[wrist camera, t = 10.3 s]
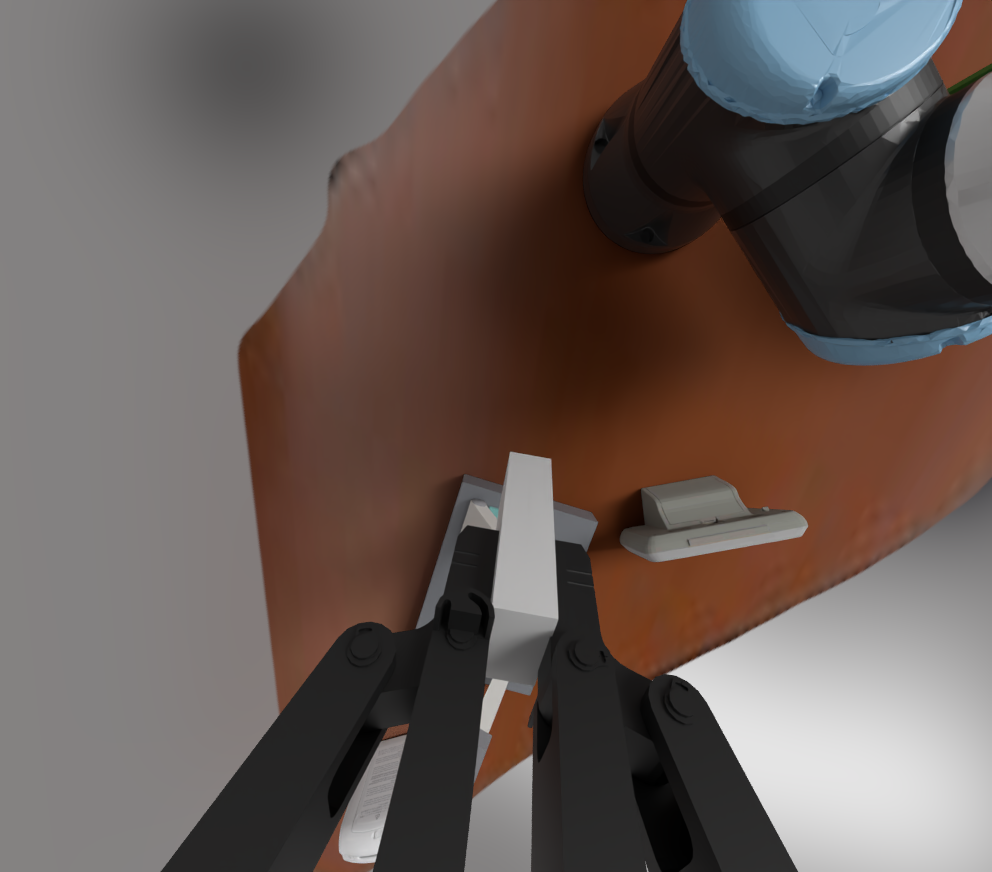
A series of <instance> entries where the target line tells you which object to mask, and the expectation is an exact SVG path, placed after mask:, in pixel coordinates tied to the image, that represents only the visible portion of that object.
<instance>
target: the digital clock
mask: <svg viewBox="0 0 992 872" xmlns="http://www.w3.org/2000/svg"><path fill="white" fill-rule="evenodd" d="M641 495H642V503H643V512H644V520H645V525H642V526H637V527H632V528H626V529H624V530H623V531H622V533H621V535H620V543H621V544H622V545H623V546H624V547H625V548H626V549H627V550H628V551H630V552H632V553H634V554H636V555H638V556H641V557H643V558H645V559H647V560H649V561H652V562H661V561H667V560H673V559H679V558H684V557H690V556H696V555H701V554H707V553H713V552H718V551H724V550H729V549H735V548H741V547H746V546H752V545H758V544H763V543H769V542H774V541H780V540H785V539H791V538H796V537H800V536H802V535H803V533H804V532H805V530H806V529H807V527H808V524H807V521H806V520H805V519H804V517H802V516H801V515H800V514H798V513H797V512H795V511H793V510H777V509H769V508H768V507H762V509H757V508H746V507H745V505H744V504H743V502H742V501H741V499H740V498H739V495H738V493H737V490H736V489H735V487H734V486H732V485H731V484H729V483H727V482H725V481H724V480H722V479H720V478H718V477H716V476H714V475H713V476H708V477H702V478H697V479H691V480H686V481H680V482H675V483H669V484H664V485H658V486H653V487H647V488H642V489H641ZM686 527H687V528H688V529H687V528H686ZM689 527H690V528H689ZM680 528H681V529H680ZM684 528H685V529H684ZM675 529H676V530H677V531H676V530H675ZM678 529H679V530H678ZM682 529H683V530H682ZM669 530H670V531H672V530H674V531H672V532H670V531H669ZM667 531H668V532H667Z"/></svg>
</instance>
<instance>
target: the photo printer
mask: <svg viewBox="0 0 992 872" xmlns="http://www.w3.org/2000/svg"><path fill="white" fill-rule="evenodd" d="M406 736H407V735H403V736H399V737H395V738H392V739H388V740H384V741H381V742H380V744H379V746H378V748H377V750H376V752H375V754H374V756H373V757H372V759H371V761H370V763H369V765H368V767H367V769H366V771H365V773H364V775H363V777H362V779H361V780H360V782H359V784H358V786H357V788H356V790H355V792H354V794H353V796H352V798H351V800H350V801H349V804H348V807H347V810H346V813H345V816H344V819H343V822H342V825H341V829H340V835H339V852H340V854H342V856H343V859H344V860H345V861H349V862H353V863H373V862H375V861H376V857H377V853H378V849H379V845H380V841H381V837H382V832H383V828H384V824H385V820H386V816H387V812H388V808H389V804H390V800H391V796H392V792H393V788H394V784H395V780H396V776H397V772H398V768H399V764H400V760H401V756H402V752H403V748H404V744H405V740H406Z"/></svg>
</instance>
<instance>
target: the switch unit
mask: <svg viewBox="0 0 992 872" xmlns="http://www.w3.org/2000/svg"><path fill="white" fill-rule="evenodd" d="M502 490H503V485H500V484H496V483H493V482H490V481H486V480H483V479H480V478H476V477H473V476H470V475H467V474H464V477H463V480H462V483H461V486H460V489H459V492H458V496H457V499H456V502H455V505H454V508H453V511H452V514H451V518H450V521H449V524H448V527H447V530H446V533H445V536H444V540H443V543H442V546H441V549H440V552H439V555H438V558H437V561H436V565H435V568H434V571H433V574H432V577H431V580H430V583H429V587H428V590H427V593H426V596H425V599H424V602H423V605H422V609H421V612H420V615H419V618H418V621H417V624H416V627H415V629H418V628H420V627H422V626H424V625H426V624H428V623H429V622H430V621H431V620H432V619H433V618H434V614H435V606H436V604H437V602H438V601H439V599H440V597H441V596H442V595H443V594H444V590H445V586H446V582H447V578H448V574H449V569H450V565H451V562H452V557H453V553H454V549H455V545H456V541H457V537H458V535H459V534H460V532H461V529H462V526H463V523H464V520H465V517H466V514H467V511H468V508H469V505H470V502H471V500H473V499H474V498H478V499H481V500H483V501H485V502H486V503H487V504H486V505H487V507H488V508H489V509H490V510H491V512H492V513H493V514H494V516H495V517H496V518H498V511H499V505H500V500H501V495H502ZM553 512H554V534H555V540H559V541H565V542H570V543H576V544H581V545H582V546H583V548H584V550H585V551H586V552H587V549H588V547H589V544H590V542H591V539H592V537H593V534H594V532H595V529H596V527H597V524H598V522H597V520H596V518H595V517H594V515H593V514H592V512H589V511H585V510H582V509H579V508H575V507H572V506H569V505H566V504H562V503H559V502H556V501H553ZM491 681H492V678H487V677H486V678H485V684H488V685H490V683H491ZM506 689H507V690H511V691H515V692H519V693H522V694H526V695H530V694H531V692H532V689H533V686H531V685H525V684H520V683H514V682H508V685H507V687H506Z"/></svg>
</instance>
